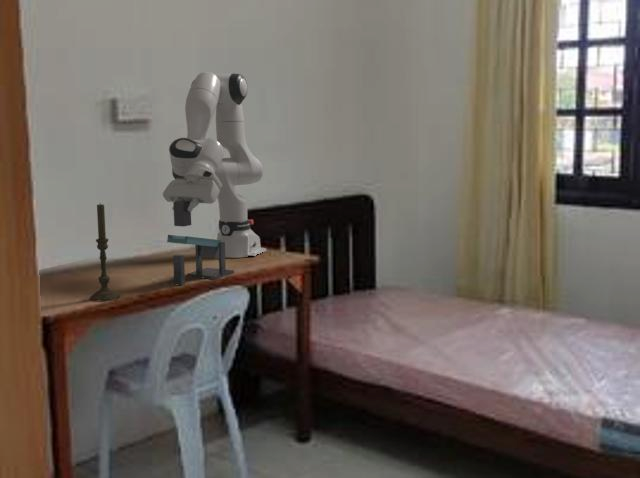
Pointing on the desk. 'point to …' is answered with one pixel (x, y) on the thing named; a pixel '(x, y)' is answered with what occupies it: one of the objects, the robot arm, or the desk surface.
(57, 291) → the desk surface
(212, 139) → the robot arm
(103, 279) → the candlestick holder
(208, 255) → the beam
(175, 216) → the block
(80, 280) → the desk surface
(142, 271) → the desk surface
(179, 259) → the beam stand
